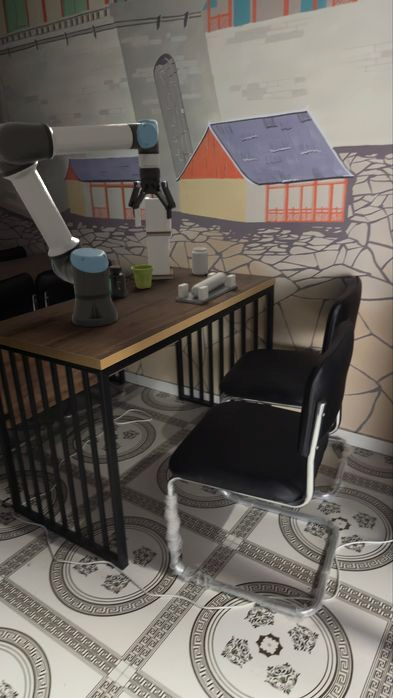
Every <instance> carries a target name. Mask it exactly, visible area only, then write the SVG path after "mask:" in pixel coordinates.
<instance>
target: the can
mask: <svg viewBox="0 0 393 698" xmlns="http://www.w3.org/2000/svg"><path fill="white" fill-rule="evenodd" d="M191 271H192V274H193V275H195V276H205V274H206V275H208V274H209V251H208V250H207V248H206V247H194V248H193V249H192V251H191Z"/></svg>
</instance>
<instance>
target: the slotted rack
mask: <svg viewBox="0 0 393 698" xmlns="http://www.w3.org/2000/svg"><path fill="white" fill-rule="evenodd" d="M215 274H217V272H210V273H207V279H208V278H209V277H211V276H213V275H215ZM238 285H239V284H236V274H229V275H227V281H226V283H225V284H224V285H221V286H219V287H218V288H216V289H214V290H212V291H211V292H209V293H208V286H202V287H200V288H198V298H196V297H194V296H193V295H192V294H191V291H190V292H189V283H181V284H178V285H177V293H178V296H177V297H176V298H175V301H176V302H180V303H188V304H195V305H202V304H204V303H206V302H209V301H210V300H212V299H215V298H217V297H220V296H221V295H224V294H225V293H228V292H230V291H232V290H235V289H237V288H238V287H239V286H238ZM236 287H237V288H236Z"/></svg>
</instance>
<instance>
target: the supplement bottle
mask: <svg viewBox="0 0 393 698" xmlns="http://www.w3.org/2000/svg"><path fill="white" fill-rule="evenodd" d="M108 269H109V281H110V294H111V299H123V298H125V297H127V287H126V275H125V274H124V272H122V271H123V270H122V266H121V265H117V264H115V265H110V266H108Z"/></svg>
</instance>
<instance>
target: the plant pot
mask: <svg viewBox="0 0 393 698" xmlns="http://www.w3.org/2000/svg"><path fill="white" fill-rule="evenodd" d="M130 268H131V270H132V273H133V277H134V282H135V285H136V288H137V289H141V290H144V289H149V288H151V287H152V280H153V279H152V271H153V268H154V266H152V265H148V264H137V265H134V266H133V265H132V266H131V267H130Z"/></svg>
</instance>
